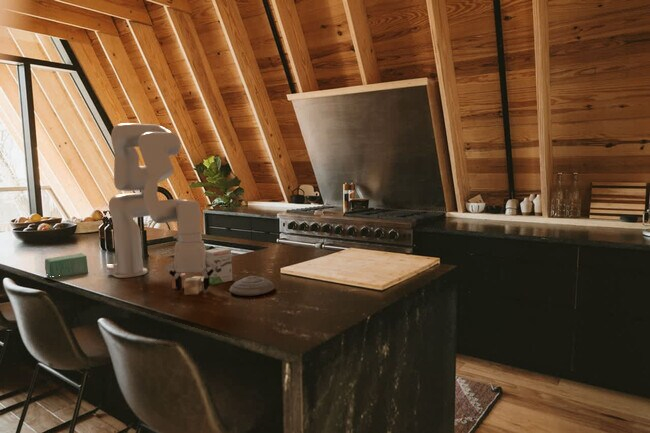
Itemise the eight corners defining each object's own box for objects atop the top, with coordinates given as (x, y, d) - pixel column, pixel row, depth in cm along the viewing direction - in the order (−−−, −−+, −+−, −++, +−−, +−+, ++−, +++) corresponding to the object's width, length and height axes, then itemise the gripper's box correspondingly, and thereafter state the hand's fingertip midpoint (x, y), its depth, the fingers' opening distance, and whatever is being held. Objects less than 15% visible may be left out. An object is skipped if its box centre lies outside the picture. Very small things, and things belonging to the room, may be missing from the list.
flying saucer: (235, 286, 164) (234, 271, 163) (277, 285, 163) (277, 270, 163) (224, 299, 149) (223, 282, 148) (271, 298, 148) (270, 281, 148)
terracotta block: (172, 288, 162) (171, 276, 161) (172, 285, 166) (172, 273, 166) (185, 287, 163) (185, 275, 163) (186, 284, 167) (185, 272, 167)
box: (45, 276, 184) (44, 258, 183) (82, 270, 193) (81, 252, 192) (50, 280, 179) (49, 260, 178) (88, 273, 188) (87, 255, 187)
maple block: (184, 294, 155) (183, 281, 154) (188, 290, 159) (187, 277, 159) (198, 294, 155) (197, 281, 154) (201, 290, 159) (200, 277, 159)
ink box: (212, 285, 165) (210, 252, 164) (205, 282, 168) (203, 250, 167) (233, 280, 171) (231, 248, 170) (225, 278, 175) (223, 247, 173)
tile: (188, 282, 170) (188, 280, 170) (193, 278, 176) (193, 276, 176) (205, 281, 170) (205, 280, 170) (209, 277, 176) (209, 276, 176)
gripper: (159, 240, 151) (163, 293, 153) (213, 239, 151) (216, 291, 153) (167, 236, 158) (170, 286, 160) (218, 235, 158) (221, 285, 161)
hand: (192, 289), depth 157 cm, fingers open, 8 cm apart
